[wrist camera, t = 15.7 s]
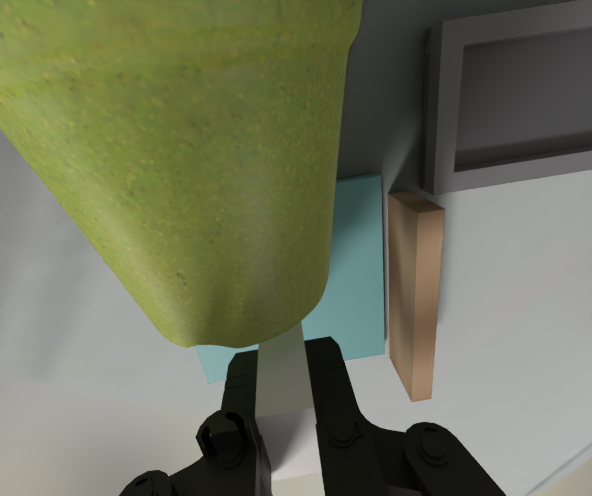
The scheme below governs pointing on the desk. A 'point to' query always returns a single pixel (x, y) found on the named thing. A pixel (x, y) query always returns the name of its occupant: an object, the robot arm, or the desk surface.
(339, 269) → the pad
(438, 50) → the tray
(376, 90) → the desk surface
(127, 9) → the plant pot
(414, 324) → the channel
